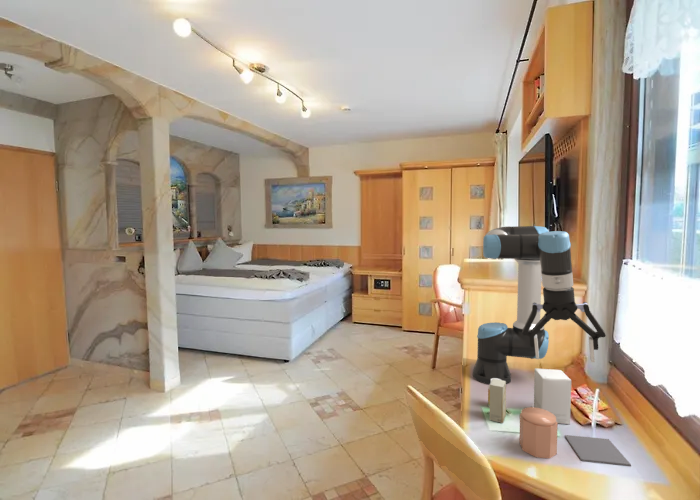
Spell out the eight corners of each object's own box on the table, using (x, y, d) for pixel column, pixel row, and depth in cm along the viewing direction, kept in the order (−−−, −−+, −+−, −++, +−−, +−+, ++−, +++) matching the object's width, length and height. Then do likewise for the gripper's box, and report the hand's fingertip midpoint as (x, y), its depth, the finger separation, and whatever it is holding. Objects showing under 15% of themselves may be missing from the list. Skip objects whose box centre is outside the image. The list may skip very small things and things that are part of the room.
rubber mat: (564, 436, 112) (564, 434, 112) (608, 440, 109) (608, 439, 109) (581, 460, 100) (581, 459, 100) (630, 466, 98) (631, 464, 97)
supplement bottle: (487, 408, 129) (488, 382, 129) (488, 402, 134) (488, 376, 134) (504, 411, 127) (504, 384, 127) (504, 404, 132) (504, 378, 132)
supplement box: (571, 425, 118) (572, 380, 117) (541, 422, 120) (542, 378, 119) (560, 411, 127) (562, 369, 126) (533, 409, 129) (534, 367, 128)
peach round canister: (517, 437, 111) (517, 406, 110) (549, 441, 109) (550, 408, 109) (525, 455, 102) (525, 421, 102) (560, 459, 100) (561, 424, 100)
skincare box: (502, 423, 119) (503, 387, 118) (488, 420, 122) (489, 384, 121) (506, 415, 124) (506, 380, 124) (492, 412, 127) (492, 378, 126)
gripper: (508, 292, 104) (515, 361, 107) (615, 289, 92) (620, 367, 95) (510, 284, 110) (517, 350, 113) (609, 281, 99) (614, 355, 102)
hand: (564, 358), depth 104 cm, fingers open, 13 cm apart
